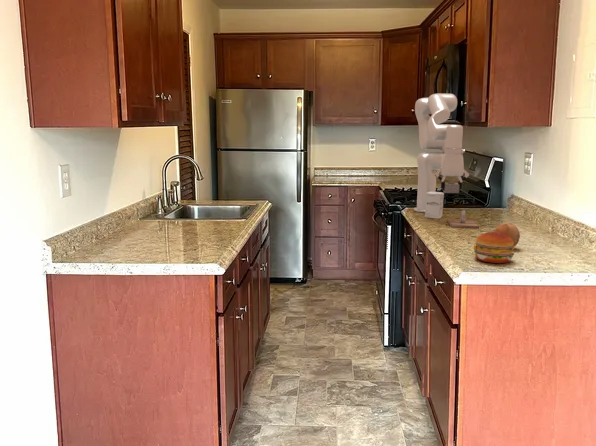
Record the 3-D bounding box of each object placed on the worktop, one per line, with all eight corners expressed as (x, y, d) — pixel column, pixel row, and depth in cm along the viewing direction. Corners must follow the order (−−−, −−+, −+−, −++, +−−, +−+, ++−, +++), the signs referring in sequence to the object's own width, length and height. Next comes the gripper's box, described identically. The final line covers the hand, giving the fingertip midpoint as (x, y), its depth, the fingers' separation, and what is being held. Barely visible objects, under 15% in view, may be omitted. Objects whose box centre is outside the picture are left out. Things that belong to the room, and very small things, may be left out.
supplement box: (424, 217, 277) (425, 192, 274) (428, 215, 283) (429, 191, 281) (439, 219, 273) (440, 193, 271) (442, 216, 280) (444, 192, 277)
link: (442, 190, 263) (443, 182, 262) (456, 191, 262) (457, 182, 261) (444, 192, 255) (445, 184, 254) (458, 193, 254) (459, 184, 253)
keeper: (446, 221, 267) (447, 208, 266) (472, 222, 265) (473, 208, 264) (451, 227, 251) (452, 213, 250) (479, 228, 250) (480, 214, 249)
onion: (496, 244, 217) (498, 219, 216) (522, 248, 211) (524, 222, 209) (487, 248, 210) (489, 222, 208) (514, 252, 204) (516, 226, 202)
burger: (498, 267, 183) (500, 238, 181) (464, 259, 194) (466, 231, 192) (521, 262, 191) (523, 233, 189) (487, 254, 201) (489, 227, 200)
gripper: (471, 151, 258) (468, 190, 261) (433, 151, 260) (431, 189, 263) (473, 152, 250) (471, 191, 253) (434, 152, 253) (432, 190, 256)
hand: (450, 190), depth 258 cm, fingers closed on link, 6 cm apart
